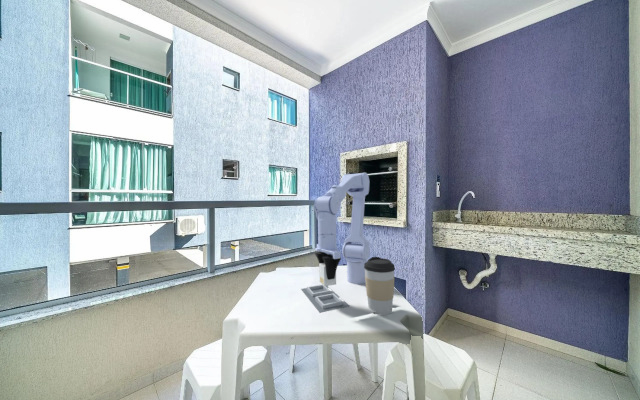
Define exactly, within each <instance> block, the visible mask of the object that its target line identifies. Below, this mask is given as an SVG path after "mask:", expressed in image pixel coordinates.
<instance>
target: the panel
mask: <svg viewBox="0 0 640 400" xmlns="http://www.w3.org/2000/svg"><path fill="white" fill-rule="evenodd" d="M300 290H301V291H302V293H303V294H304V295H305V296H306V297H307V299H308V300H309V302H311V304H312V305H313V306H314V307H315V308H316V310H317V311H318V313H319V314H321V313H325V312H326V313H327V312H329V311H333V310H334V311H335V310H339V309H344V308H347V307H351V305H350V304H349V303H348V302H346V301H345V300H344V299H343V298H342V297H340V296H339V295H338V293H336V292H335V291H334V290H333V289H331V288H330V286H323V285H322V284H318V285H312V286H311V285H310V286H307V287H304V288H300Z"/></svg>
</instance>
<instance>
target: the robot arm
mask: <svg viewBox="0 0 640 400" xmlns="http://www.w3.org/2000/svg"><path fill="white" fill-rule="evenodd" d="M369 177H370V176H369V174H368V173H367V172H360V173H348V174H347V173H345V174H344V175H342V177H341V182H340V183H339V184H338V185H337V184H333V185H331V188H330V189H329V190H328V191H326V192H325V194H323V196H318V197H317V198H316V199H315V201H314V204H313V210H314V213H315V217H316V220H317V231H318V232H317V235H318V237H317V239H318V243H316V247H315V248H314V250H315V256H316V259H317V262H318V264H319V263H325V267H326V274H327V279H328V280H330V279H334V278H335V274H336V275H337V269H338V266H339V263H340V262H341V260H342V256H343V258H344V259H345V261H346V266H347V267H346V269H347V271H346V273H347V274H346V275H347V276H346V277H347V282H348V283H350V284H351V285H352V284H353V285H354V284H355V285H362V284H366V281H365V268H364V264H365V263H366V262H367V261H368V260H369V259H370V242H369V241H368V239H366V238H365V237H364V236H363V232H364V221H365V220H364V218H365V203H366V201H365V199H366V196H367V195H369V192H370V178H369ZM347 194H348V195H349V196H350V197H352V209H351V218H350V219H351V220H350V234H349V236H347V237H346V238H345V239H344V241H343V245H342V248H341V249H342V250H341V251H339V248H338V247H337V213H338V212H339V211H340V206H341V203H342V202H343V200H344V199H345V198H346V197H347ZM341 252H342V256H341Z"/></svg>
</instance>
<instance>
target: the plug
mask: <svg viewBox="0 0 640 400" xmlns="http://www.w3.org/2000/svg"><path fill="white" fill-rule="evenodd" d="M318 265H319V266H318V267H319V270H318V272H319V283H320V285H323V286H328V287H330V286H334V285H337V273H336V274H335V278H334V279H330V280H328V279H327V274H326V267H325V263H319V262H318Z"/></svg>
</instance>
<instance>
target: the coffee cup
mask: <svg viewBox="0 0 640 400" xmlns="http://www.w3.org/2000/svg"><path fill="white" fill-rule="evenodd" d="M364 268H365V281H366V283H365V289H366V290H365V291H366V296H367V307H368V308H369V310H371V311H373V312H372V314H375V315H378V316H387V315H390V314H391V313H392V312H393V300H394V295H395V294H394V293H395V292H394V291H395V290H394V289H395V270H396V267H395V264H394V263H393V262H392V261H391V260H390V259H387V258H381V257H379V256H372V257H371V258H370V257H369V258H368V261H367V262H366V263H365V264H364Z"/></svg>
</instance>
